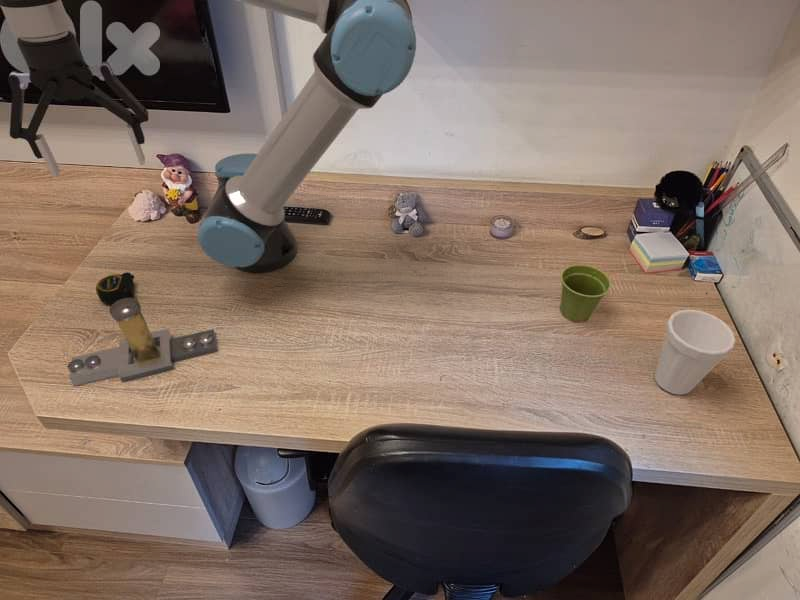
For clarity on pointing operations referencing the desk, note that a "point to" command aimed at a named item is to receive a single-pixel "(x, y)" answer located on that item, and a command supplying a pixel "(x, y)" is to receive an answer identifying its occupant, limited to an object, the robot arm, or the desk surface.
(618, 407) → the desk surface
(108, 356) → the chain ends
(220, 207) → the robot arm
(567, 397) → the desk surface
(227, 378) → the desk surface
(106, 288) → the tape measure
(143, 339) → the link pin
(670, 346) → the cup
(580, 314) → the plant pot
